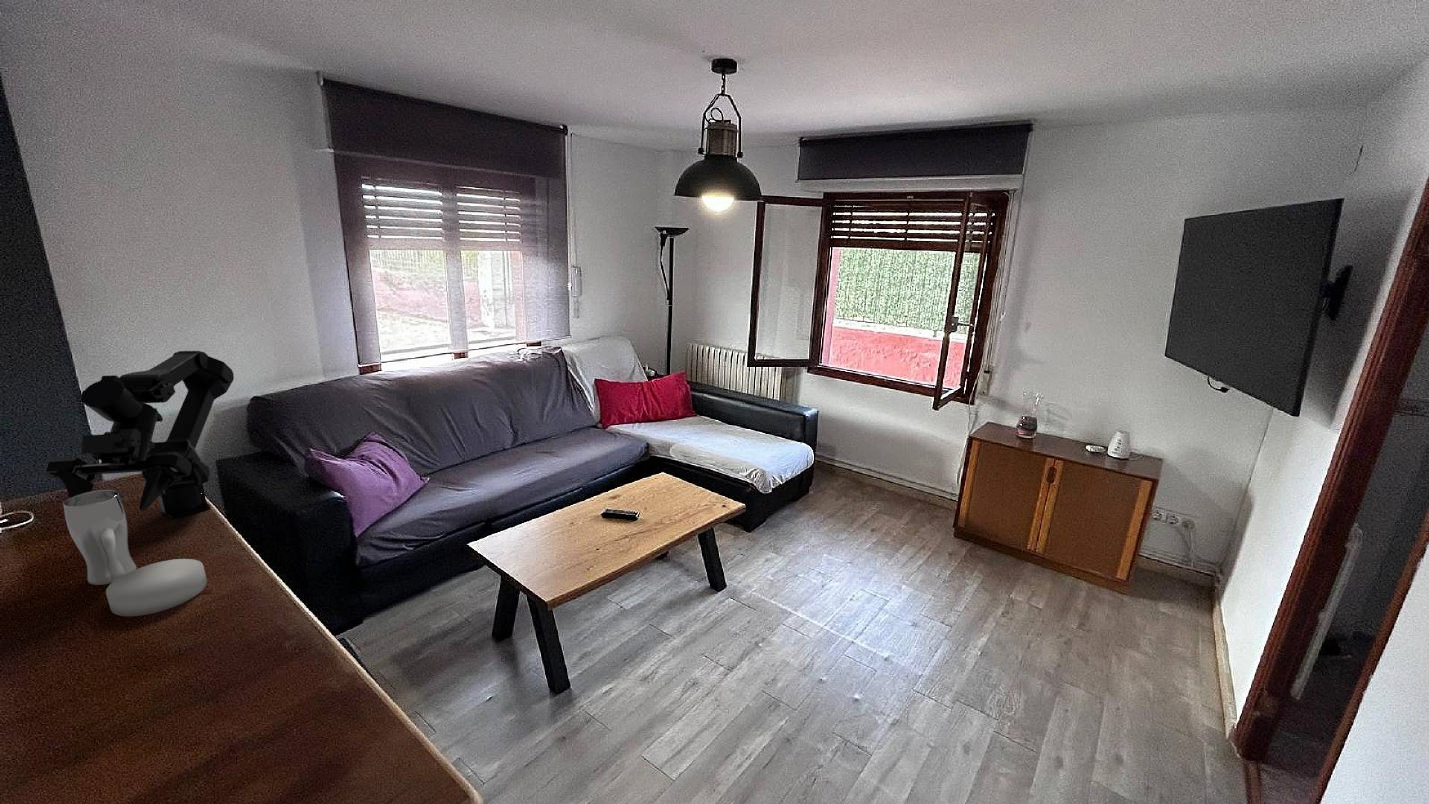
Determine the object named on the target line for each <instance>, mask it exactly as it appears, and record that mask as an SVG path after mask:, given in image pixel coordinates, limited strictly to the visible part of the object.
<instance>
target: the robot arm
mask: <svg viewBox="0 0 1429 804" xmlns="http://www.w3.org/2000/svg"><path fill="white" fill-rule="evenodd" d="M234 374H235V373H234V371H233V369H232V368H231V367H230V366H229V365H227V364H226V363H225V362H224V361H222V360H220V359H217V358H214V357H212V356H209V355H208V354H207V353H206V352H204V351H201V350H178V351H177V352H174V353H173V355H172V356H171V357H169V358H167V359H165V360H164V361H162V362H161V363H158V364H157V365H155V366H153V367H151V368H150V369H146V370H142V371H134V372H130V373H125V374H121V376H118V375H116V374H115V375H111V374H110V375H102V376H101V378H100V380H98V381H95V382H93V383H91V384H90V385H89V386H87V387H86V388H85V389H84V390H83V391H82V392H81V395H80V400H81V402H82V403H83V404H84V405H85V406H87V407H88V408H90V409H91V411H93V412H95V413H96V414H98V416H100V417H101V418H103V419H104V420H106V421H109V422H112V425H111V428H110V431H104V433H103V434H87V435H84V434H83V435H81V441H80V442H81V443H80V454H81V455H86V454H91V455H92V458H93V459H94V460H96V461H100V463H88V462H86V461H84V460H83V459H82V458H79V457H70V458H69V457H68V458H54V459H52V460H50V461H48V462H47V464H46V466H45V469H44V472H43V474H45V476H48V477H51V478H52V479H53V480H56V481H58V482H59V483H61V484H64V486H65V489H66V491H67V494H68V495H67V496H68V499H69V498H71V497H73V496H76V495H79V494H82V493H86V492H91V491H93V489H94V486H95V484H94V483H92V481H94V480H95V478H96V475H110V474H125V473H137V472H139V473H141V476H142V477H143V479H144V480H145V485H144V488H143V491H142V495H141V497H140V501H139V507H138V508H139V511H141V512H145V511H146V510H147V509H148V508H149V507H150V506H151V505H152V504H153V503H154V502H155V501H156V500H157V499H158V501H159V504H160V505H159V506H160V510H161V512H162V513H164V514H165V515H167V516H168V517H169V518H171V519H177V518H180V517H184V516H187V515H191V514H195V513H198V512H202V511H205V510H208V509H210V508H212V507H211V505H210V504H209V503H208V502H207V497H206V492H205V487H204V483H207V482H210V475H211V473H210V472H211V471H210V467H209V466H207V464H205V463H204V462H202V461H201V458H200V456H199V454H198V452H197V449H196V447H197V445H198V443H199V440H200V437H201V435H202V432H203V430H204V427H205V425H206V422H207V420H208V417H209V414H210V412H211V409H212V407H213V405H214V401H215V400H217V399H219V398H220V397H222V396H223V395H225V394H226V393H227V392H228V390H229V388H230V387H231V385H232V384H233V382H234V379H235V375H234ZM180 382H183V384H184V386H185V388H186V390H187V392H186V395H185V397H184V399H183V402H182V403H181V406H180V409H179V411H178V414H177V416H176V418H175V420H174V423H173V425H172V428H171V430H170V431H169V434H168V437H167V439H166V440H165V441H159V442H157V441H155V442H153V440H152V439H153V436H154V432H155V428H156V424H157V422H163V420H164V419H163V416H162V414H161V413H159V411H158V409H157V408H156V407H153V406H152V405H150V404H157V403H158V404H162V403H163V404H164V403H167V402H168V401H169V400H170V399H171V398H172V397H173V396H174V395H175V393H176V389H175V386H176V385H178V384H179V383H180ZM201 493H202V494H201ZM205 498H206V499H205Z"/></svg>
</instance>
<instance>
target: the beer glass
mask: <svg viewBox="0 0 1429 804" xmlns="http://www.w3.org/2000/svg"><path fill="white" fill-rule="evenodd" d="M62 507H63V510H64V519H65V521H66V526H67V528H68V532H69V535H70V536H71V538H72V540H73V542H74V544H75V545H76V547H77V549H78V550H79V552H80V554H81V555H82V557H83V559H84V561H85V563H86V567H87V569H86V570H87V582H88V583H89V584H90V585H94V586H100V585H101V586H102V585H108V584H109V585H110V584H111V583H112V582H114V581H115V580H116V579H118V578H119V577H121V576H123V575H125V574H127V573H129V572H131V571H133V570H136V569H138V568H137V565H136V563H135V561H134V559H132V557H131V554H130V550H129V530H128V529H129V526H128V518H127V514H126V509H125V507H124V504H123V502H122V500H121V497H120V494H119V491H117V490H114V489H98V490H92V491H91V492H86V493H82V494H79V495H76V496H73V497H71V498H69V497H68V498H67V499H65V500H64V501H63V502H62Z"/></svg>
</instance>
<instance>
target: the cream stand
mask: <svg viewBox="0 0 1429 804" xmlns="http://www.w3.org/2000/svg"><path fill="white" fill-rule="evenodd" d="M207 583H208V579H207V575H206V570H205V567H204V564H203V563H202V561H200V560H198V559H193V558H192V559H191V558H177V559H176V558H175V559H169V560H163V561H158V562H154V563H151V564H148V565H144V566H142V567H138V568H137V569H136V570H133V571H131V572H129V573H127V574H125V575H123V576H121V577H119V578H118V579H116V580H115V581H114V582H112V583H109V585H108V587H107V588H106V590H105V595H106V597H107V602H108V605H109V608H110V611H111V613H113V614H114V615H116V616H121V617H138V616H146V615H152V614H155V613H159V612H160V613H161V612H163V611H166V610H168V609H171V608H174V607H177V606H179V605H182V604H184V603H185V602H188V601H189V600H192V599H193V598H194V597H196V596H198V595H199V594H200V593H201V592H202V591H203V590H204V589H205V588H206V586H207Z"/></svg>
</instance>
